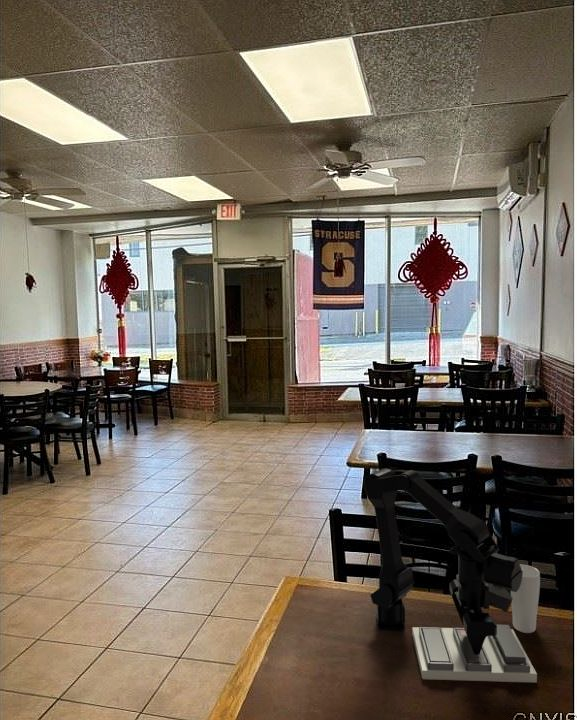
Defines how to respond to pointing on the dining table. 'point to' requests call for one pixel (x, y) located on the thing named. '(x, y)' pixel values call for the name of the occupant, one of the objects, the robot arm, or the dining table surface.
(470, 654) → the button middle
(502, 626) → the button right
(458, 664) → the switch panel base
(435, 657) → the button left
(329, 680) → the dining table surface
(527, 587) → the drinking glass
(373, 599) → the robot arm
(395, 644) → the dining table surface
